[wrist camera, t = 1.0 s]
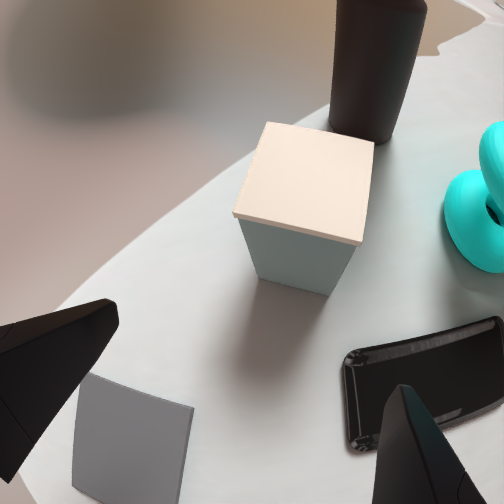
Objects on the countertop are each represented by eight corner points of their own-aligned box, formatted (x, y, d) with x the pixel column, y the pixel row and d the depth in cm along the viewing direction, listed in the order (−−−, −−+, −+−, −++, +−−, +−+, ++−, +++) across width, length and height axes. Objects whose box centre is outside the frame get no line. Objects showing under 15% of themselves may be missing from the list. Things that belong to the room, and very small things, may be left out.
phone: (342, 351, 20) (502, 313, 18) (340, 351, 21) (495, 315, 19) (350, 455, 17) (511, 400, 15) (347, 451, 18) (504, 400, 16)
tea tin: (330, 297, 22) (361, 242, 12) (256, 279, 23) (232, 212, 13) (345, 229, 24) (374, 142, 14) (277, 213, 25) (267, 121, 15)
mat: (174, 528, 16) (171, 532, 15) (76, 483, 18) (71, 485, 17) (194, 407, 20) (190, 409, 19) (87, 371, 22) (82, 371, 21)
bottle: (320, 135, 27) (326, -69, 9) (337, 96, 29) (345, -73, 11) (387, 157, 26) (441, -42, 7) (395, 114, 28) (433, -52, 9)
